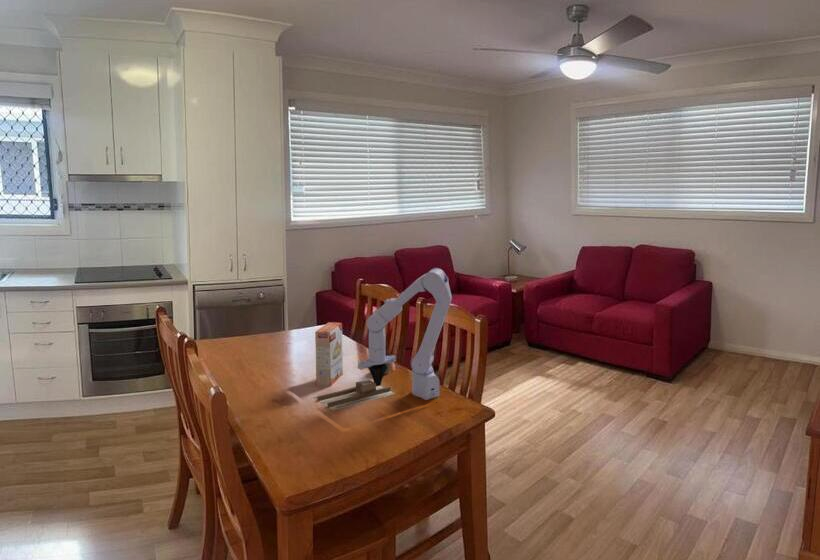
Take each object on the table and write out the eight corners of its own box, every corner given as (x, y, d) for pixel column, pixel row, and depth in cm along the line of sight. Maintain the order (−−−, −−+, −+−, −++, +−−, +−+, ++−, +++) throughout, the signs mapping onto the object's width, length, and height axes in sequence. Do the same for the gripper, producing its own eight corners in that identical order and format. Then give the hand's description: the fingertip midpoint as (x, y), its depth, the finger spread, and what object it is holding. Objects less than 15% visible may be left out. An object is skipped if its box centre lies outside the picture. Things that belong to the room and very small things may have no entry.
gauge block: (375, 393, 197) (375, 382, 196) (363, 396, 194) (363, 385, 193) (368, 388, 201) (368, 378, 200) (355, 391, 198) (355, 381, 197)
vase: (382, 379, 213) (381, 356, 211) (368, 375, 217) (367, 353, 216) (393, 374, 218) (393, 352, 217) (379, 370, 223) (379, 348, 221)
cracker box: (331, 389, 203) (330, 332, 200) (315, 388, 204) (313, 331, 201) (344, 375, 217) (342, 322, 213) (328, 374, 218) (327, 321, 214)
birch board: (395, 396, 196) (395, 390, 196) (333, 413, 182) (333, 407, 182) (373, 384, 208) (373, 378, 207) (313, 399, 194) (313, 393, 193)
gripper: (388, 341, 205) (388, 377, 207) (353, 348, 197) (353, 386, 199) (399, 345, 199) (399, 383, 202) (363, 353, 191) (364, 392, 193)
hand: (377, 384), depth 200 cm, fingers closed
